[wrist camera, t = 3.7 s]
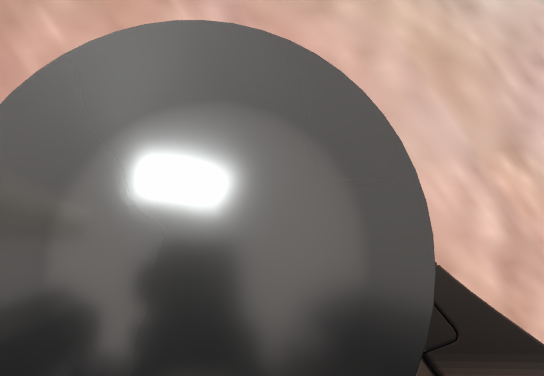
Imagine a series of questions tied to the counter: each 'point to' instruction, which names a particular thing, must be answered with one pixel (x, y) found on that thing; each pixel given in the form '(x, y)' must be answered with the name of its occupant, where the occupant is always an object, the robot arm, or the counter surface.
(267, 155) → the tin
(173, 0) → the counter surface
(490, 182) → the counter surface
